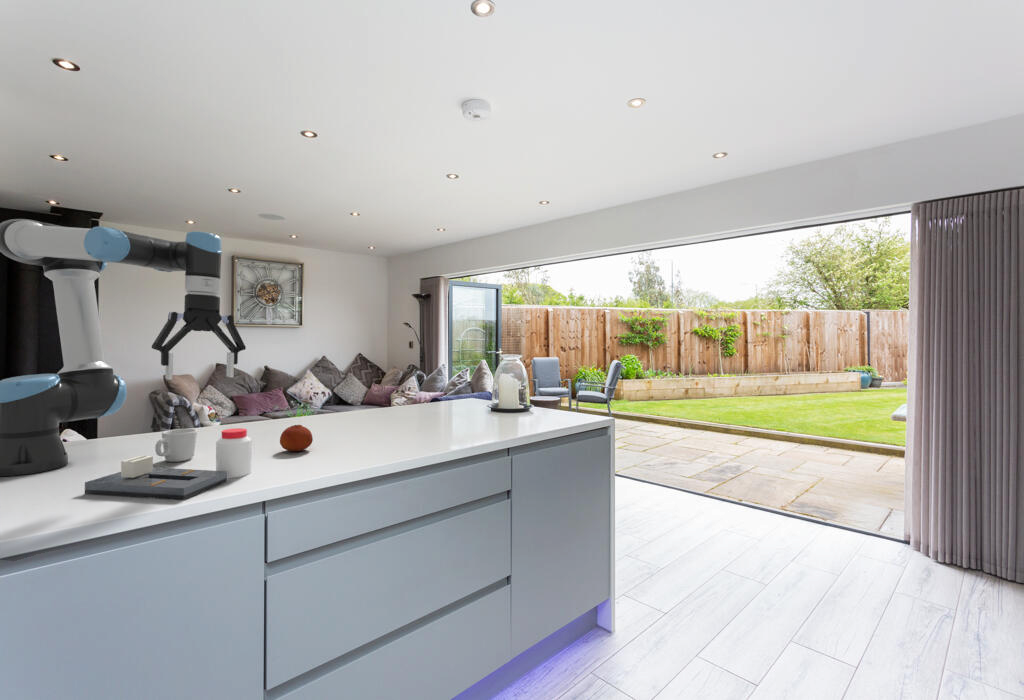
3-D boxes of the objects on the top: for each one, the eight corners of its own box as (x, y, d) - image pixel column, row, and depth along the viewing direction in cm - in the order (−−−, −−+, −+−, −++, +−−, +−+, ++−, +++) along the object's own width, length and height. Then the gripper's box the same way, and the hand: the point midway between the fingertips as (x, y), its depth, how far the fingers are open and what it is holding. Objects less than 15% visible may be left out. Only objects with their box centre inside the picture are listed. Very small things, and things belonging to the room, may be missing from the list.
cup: (169, 467, 123) (169, 436, 123) (144, 465, 125) (144, 434, 125) (203, 457, 134) (204, 429, 134) (180, 455, 135) (180, 427, 135)
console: (84, 494, 102) (84, 481, 102) (138, 476, 115) (138, 466, 115) (183, 500, 99) (184, 487, 99) (227, 481, 112) (227, 470, 112)
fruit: (273, 453, 141) (273, 426, 140) (293, 447, 149) (293, 421, 149) (298, 455, 138) (299, 428, 138) (318, 449, 147) (318, 423, 147)
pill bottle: (257, 469, 123) (257, 427, 123) (241, 478, 115) (241, 433, 115) (226, 469, 123) (227, 427, 123) (208, 478, 115) (209, 433, 115)
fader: (119, 483, 105) (119, 460, 105) (138, 477, 110) (139, 455, 110) (135, 484, 105) (135, 461, 105) (154, 477, 110) (154, 456, 110)
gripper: (146, 288, 108) (144, 381, 108) (260, 298, 127) (258, 377, 128) (137, 289, 113) (135, 378, 113) (248, 299, 132) (246, 375, 132)
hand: (200, 378), depth 120 cm, fingers open, 13 cm apart
